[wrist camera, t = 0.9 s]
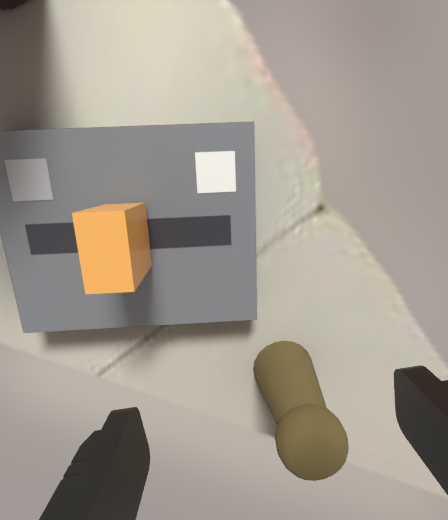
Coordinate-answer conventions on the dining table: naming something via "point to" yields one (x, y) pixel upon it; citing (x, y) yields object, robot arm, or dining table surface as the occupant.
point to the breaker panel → (158, 219)
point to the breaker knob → (113, 247)
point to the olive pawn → (300, 412)
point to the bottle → (10, 3)
